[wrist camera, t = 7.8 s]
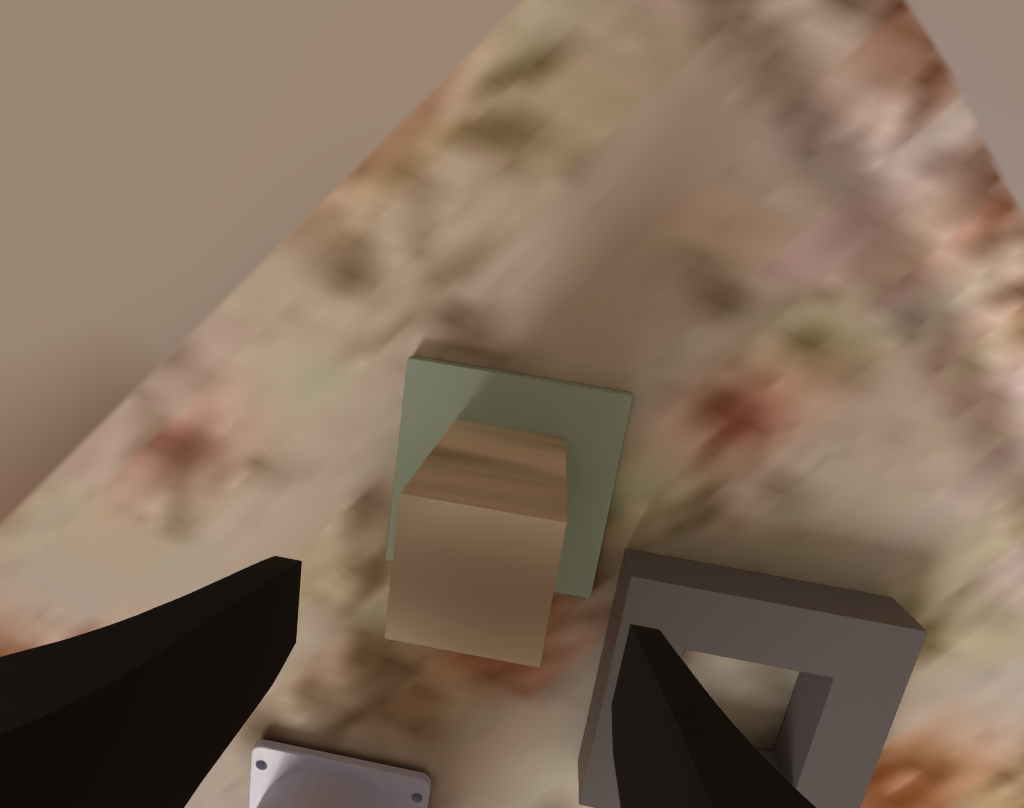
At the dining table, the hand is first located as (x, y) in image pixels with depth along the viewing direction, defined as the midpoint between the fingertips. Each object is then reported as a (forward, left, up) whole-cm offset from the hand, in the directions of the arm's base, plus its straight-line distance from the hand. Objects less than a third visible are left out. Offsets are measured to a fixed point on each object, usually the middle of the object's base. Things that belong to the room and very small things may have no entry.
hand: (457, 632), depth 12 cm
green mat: (0, 0, -9) cm, 9 cm away
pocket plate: (-7, -10, -9) cm, 15 cm away
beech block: (0, 0, -9) cm, 9 cm away
